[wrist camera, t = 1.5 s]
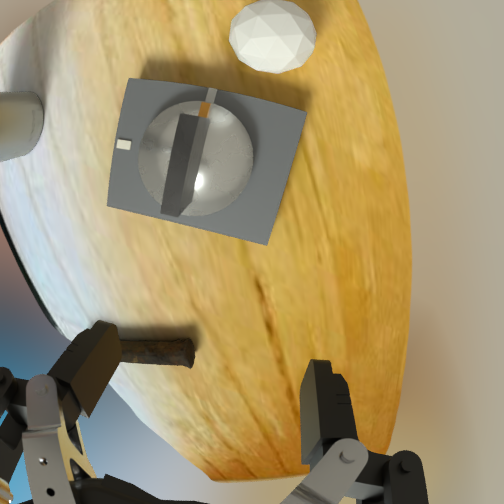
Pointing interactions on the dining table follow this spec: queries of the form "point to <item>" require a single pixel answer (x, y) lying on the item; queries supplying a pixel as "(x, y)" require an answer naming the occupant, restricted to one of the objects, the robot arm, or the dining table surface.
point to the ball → (272, 36)
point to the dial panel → (264, 156)
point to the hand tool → (159, 352)
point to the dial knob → (195, 159)
